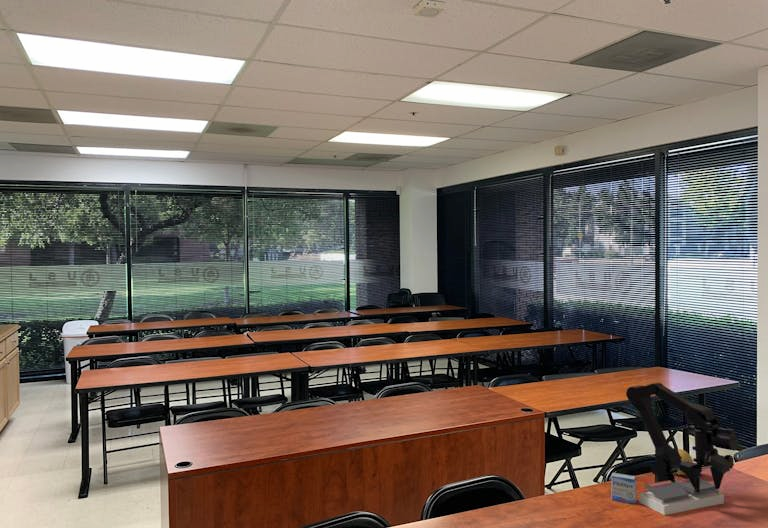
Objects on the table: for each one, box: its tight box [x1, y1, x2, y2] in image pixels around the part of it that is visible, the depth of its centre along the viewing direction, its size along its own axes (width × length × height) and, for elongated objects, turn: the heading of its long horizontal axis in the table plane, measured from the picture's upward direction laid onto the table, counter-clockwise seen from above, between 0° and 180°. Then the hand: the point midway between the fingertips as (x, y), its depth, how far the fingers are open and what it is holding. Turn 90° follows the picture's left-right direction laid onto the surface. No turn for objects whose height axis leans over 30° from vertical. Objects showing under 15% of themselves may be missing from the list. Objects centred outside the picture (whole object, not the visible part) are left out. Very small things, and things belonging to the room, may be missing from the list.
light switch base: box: [638, 487, 725, 516], centre depth 195 cm, size 11×27×4 cm, turn 110°
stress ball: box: [674, 448, 694, 476], centre depth 222 cm, size 10×10×10 cm
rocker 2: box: [675, 477, 718, 494], centre depth 197 cm, size 8×11×2 cm
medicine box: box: [610, 472, 637, 505], centre depth 197 cm, size 8×4×9 cm, turn 62°
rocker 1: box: [644, 480, 689, 502], centre depth 192 cm, size 8×11×2 cm
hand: (707, 490), depth 192 cm, fingers open, 9 cm apart
